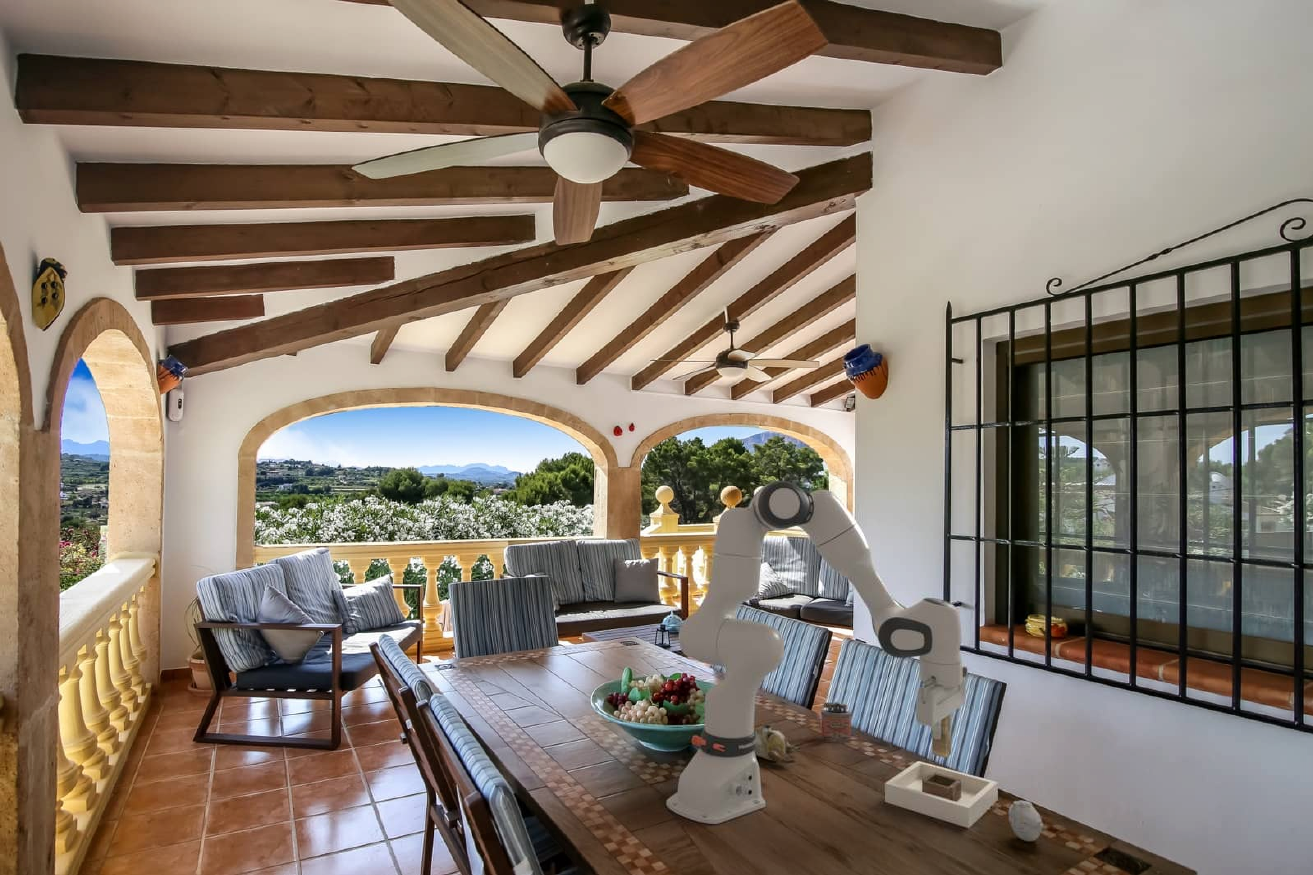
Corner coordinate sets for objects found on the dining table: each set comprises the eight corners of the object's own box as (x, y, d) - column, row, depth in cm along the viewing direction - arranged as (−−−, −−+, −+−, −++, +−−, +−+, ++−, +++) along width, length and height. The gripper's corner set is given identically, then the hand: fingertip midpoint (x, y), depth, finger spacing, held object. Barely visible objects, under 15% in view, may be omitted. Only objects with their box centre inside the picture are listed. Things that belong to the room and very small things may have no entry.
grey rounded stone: (1031, 830, 151) (1030, 795, 152) (1050, 848, 144) (1050, 811, 145) (1001, 831, 151) (1001, 795, 151) (1019, 848, 144) (1019, 811, 144)
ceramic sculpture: (746, 713, 197) (803, 724, 191) (744, 746, 196) (801, 758, 191) (736, 726, 187) (795, 738, 181) (733, 761, 186) (793, 774, 181)
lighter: (850, 738, 204) (850, 701, 205) (852, 742, 201) (852, 705, 201) (820, 737, 205) (820, 700, 205) (821, 741, 202) (821, 703, 202)
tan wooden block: (946, 757, 164) (945, 711, 164) (932, 754, 166) (931, 708, 166) (950, 753, 166) (950, 708, 166) (937, 750, 168) (936, 705, 168)
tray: (968, 828, 152) (968, 805, 152) (885, 801, 164) (884, 780, 164) (997, 800, 165) (997, 779, 166) (918, 778, 177) (918, 758, 178)
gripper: (937, 685, 157) (938, 752, 156) (970, 666, 172) (971, 726, 172) (907, 679, 161) (908, 745, 160) (942, 661, 176) (943, 720, 176)
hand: (941, 735), depth 166 cm, fingers closed on tan wooden block, 3 cm apart
